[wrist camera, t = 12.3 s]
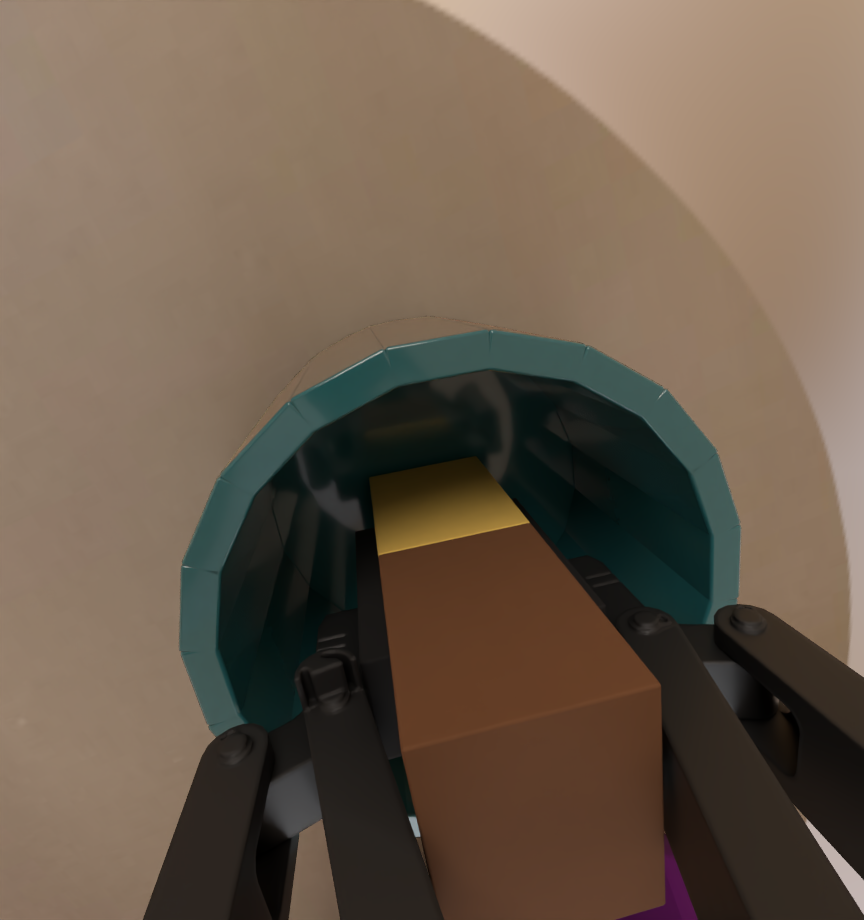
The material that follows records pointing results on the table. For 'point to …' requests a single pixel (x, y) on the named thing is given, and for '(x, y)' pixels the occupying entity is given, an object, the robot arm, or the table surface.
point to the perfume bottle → (670, 895)
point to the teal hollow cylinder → (431, 442)
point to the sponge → (515, 710)
